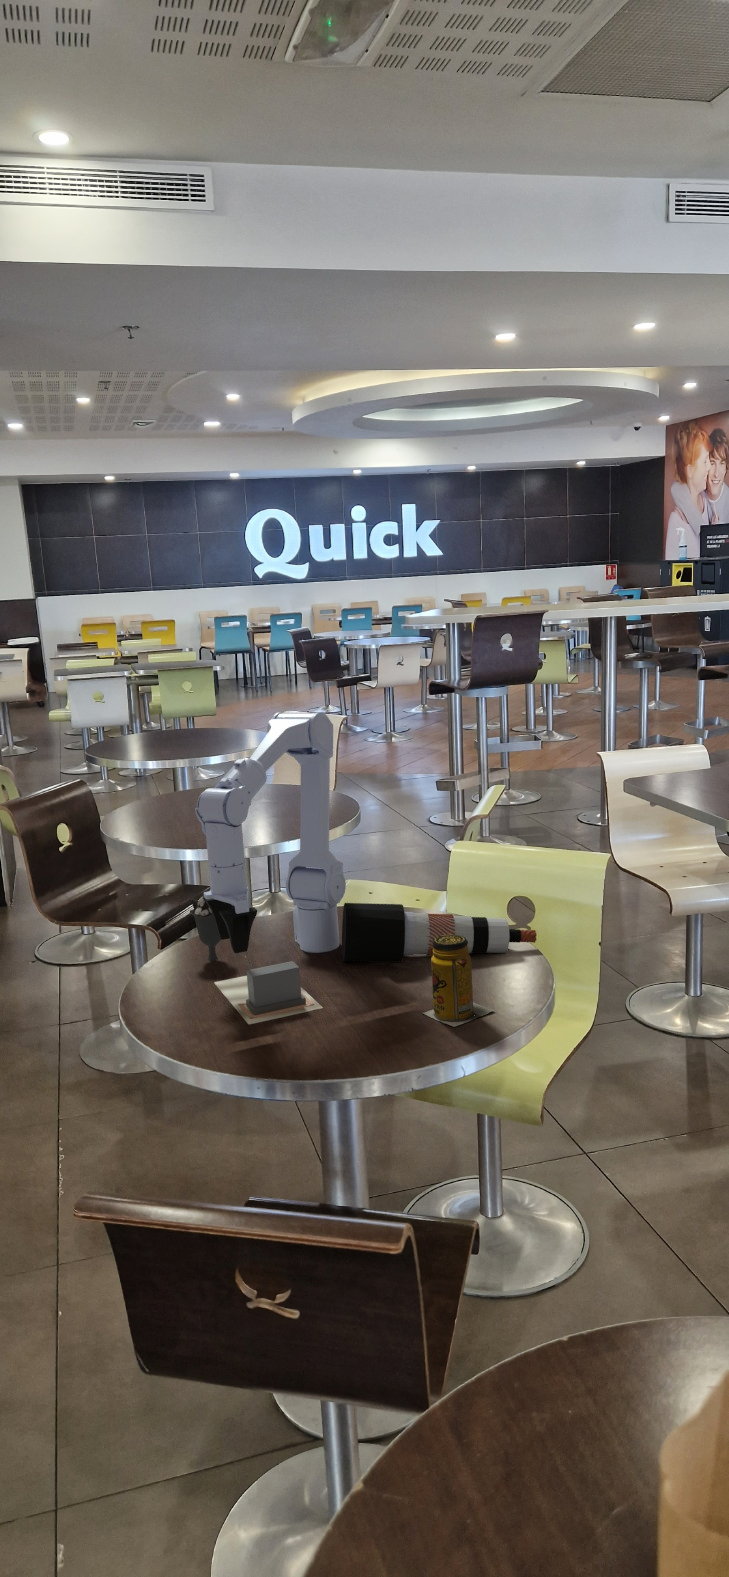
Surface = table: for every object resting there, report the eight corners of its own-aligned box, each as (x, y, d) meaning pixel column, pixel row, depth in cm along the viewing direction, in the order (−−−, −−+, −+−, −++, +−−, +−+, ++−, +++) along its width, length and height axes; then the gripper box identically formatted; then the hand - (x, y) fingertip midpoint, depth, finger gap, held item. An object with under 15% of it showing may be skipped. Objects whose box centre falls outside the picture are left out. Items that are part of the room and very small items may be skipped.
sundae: (238, 964, 181) (231, 883, 178) (204, 973, 177) (197, 891, 174) (222, 954, 186) (215, 876, 183) (188, 963, 182) (181, 883, 180)
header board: (214, 987, 170) (211, 959, 169) (281, 973, 175) (279, 946, 174) (249, 1030, 152) (246, 999, 151) (323, 1013, 156) (321, 983, 156)
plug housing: (248, 1000, 158) (246, 970, 157) (294, 990, 161) (292, 961, 160) (255, 1007, 155) (252, 976, 154) (301, 997, 158) (299, 967, 157)
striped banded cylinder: (535, 977, 179) (545, 936, 172) (342, 973, 176) (346, 932, 170) (525, 935, 187) (535, 895, 180) (341, 931, 184) (345, 890, 178)
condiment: (421, 1014, 154) (418, 939, 152) (462, 999, 159) (459, 926, 157) (453, 1028, 148) (450, 950, 146) (495, 1012, 153) (492, 936, 151)
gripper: (190, 857, 165) (198, 936, 167) (214, 877, 152) (221, 963, 154) (232, 851, 168) (239, 929, 170) (259, 869, 154) (265, 954, 157)
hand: (233, 944), depth 162 cm, fingers open, 7 cm apart
